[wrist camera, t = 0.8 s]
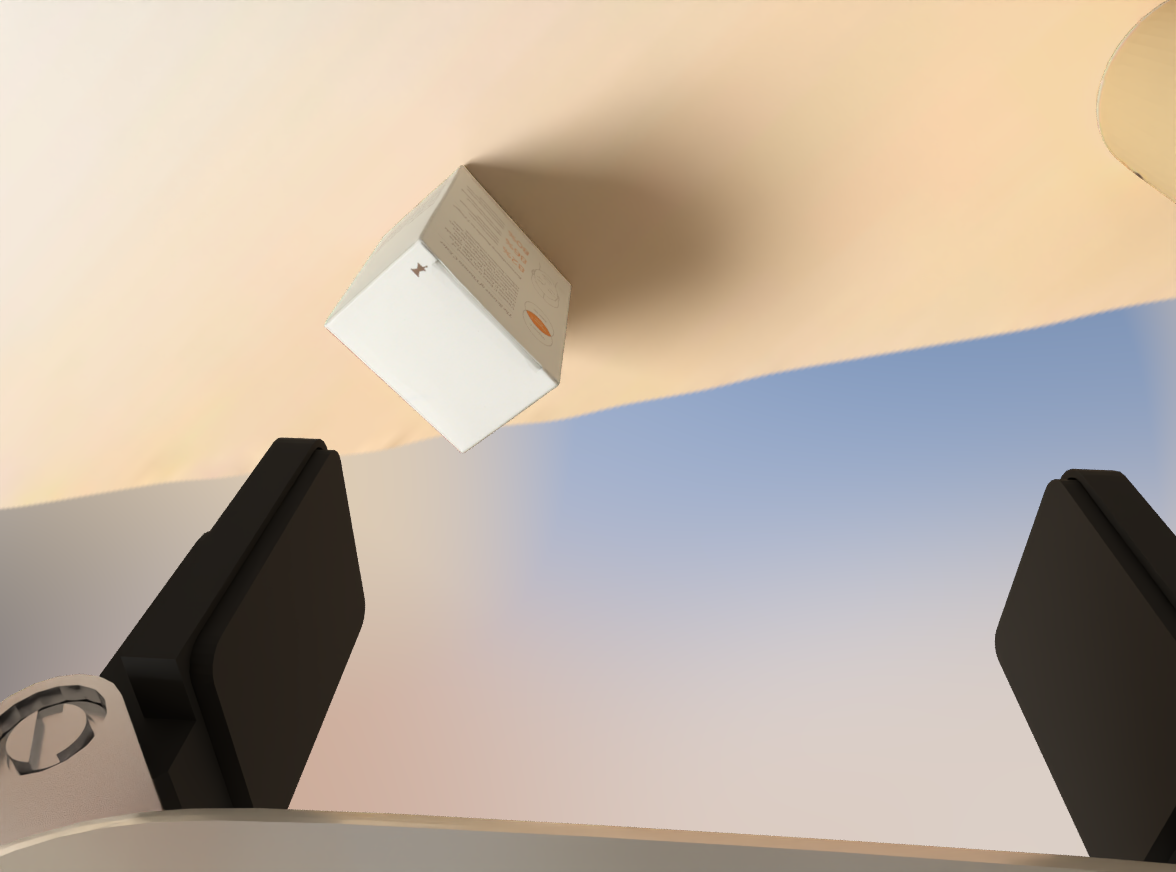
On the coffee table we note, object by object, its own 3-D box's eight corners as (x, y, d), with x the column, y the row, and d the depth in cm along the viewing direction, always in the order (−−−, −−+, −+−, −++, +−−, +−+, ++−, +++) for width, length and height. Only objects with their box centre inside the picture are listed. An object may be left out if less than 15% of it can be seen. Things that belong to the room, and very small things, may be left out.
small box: (382, 233, 42) (315, 323, 33) (464, 160, 40) (416, 234, 31) (494, 349, 45) (460, 460, 36) (576, 286, 43) (561, 387, 34)
